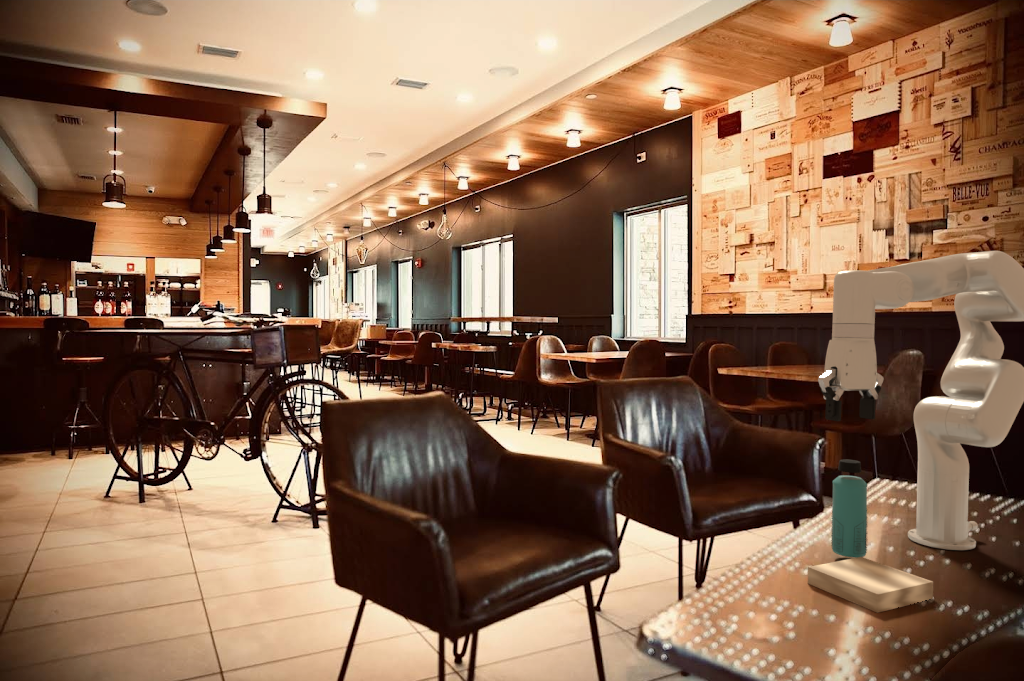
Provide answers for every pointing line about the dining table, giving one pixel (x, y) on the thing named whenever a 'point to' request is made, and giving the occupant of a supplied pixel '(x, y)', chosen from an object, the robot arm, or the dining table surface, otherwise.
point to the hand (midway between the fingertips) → (850, 419)
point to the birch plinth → (870, 583)
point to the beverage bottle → (849, 512)
